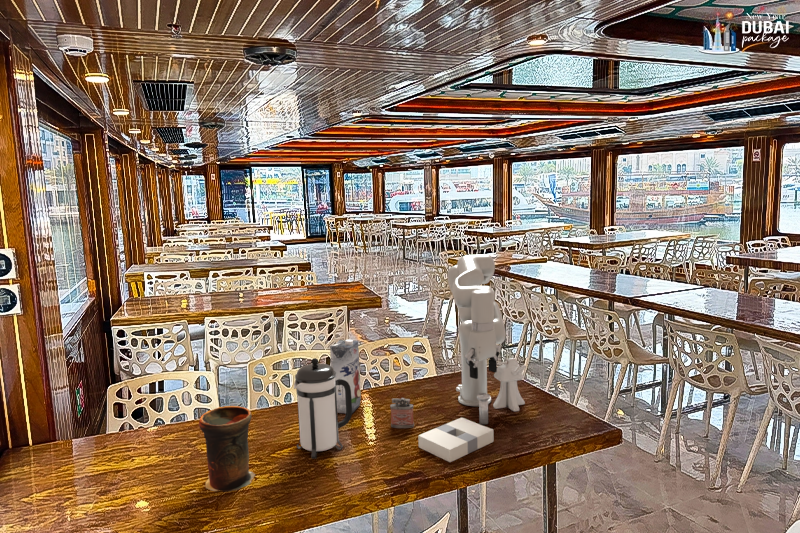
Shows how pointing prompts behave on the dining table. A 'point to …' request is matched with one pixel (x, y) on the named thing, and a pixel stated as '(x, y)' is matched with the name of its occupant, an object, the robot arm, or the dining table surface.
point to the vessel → (227, 447)
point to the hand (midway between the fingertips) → (483, 374)
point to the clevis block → (455, 439)
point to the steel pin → (483, 407)
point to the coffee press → (319, 407)
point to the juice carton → (346, 372)
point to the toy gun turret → (509, 384)
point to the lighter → (401, 413)
